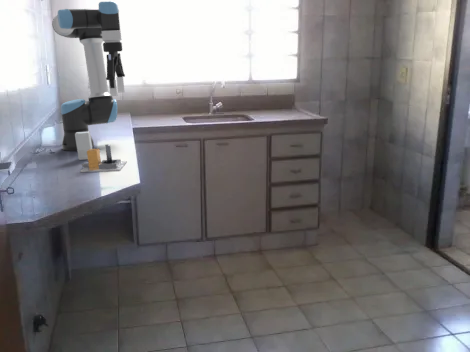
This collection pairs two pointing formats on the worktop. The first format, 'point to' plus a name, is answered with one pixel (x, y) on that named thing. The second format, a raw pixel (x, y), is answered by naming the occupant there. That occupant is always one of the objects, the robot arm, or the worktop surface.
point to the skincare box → (83, 144)
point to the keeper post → (109, 160)
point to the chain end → (99, 160)
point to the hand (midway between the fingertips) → (117, 94)
